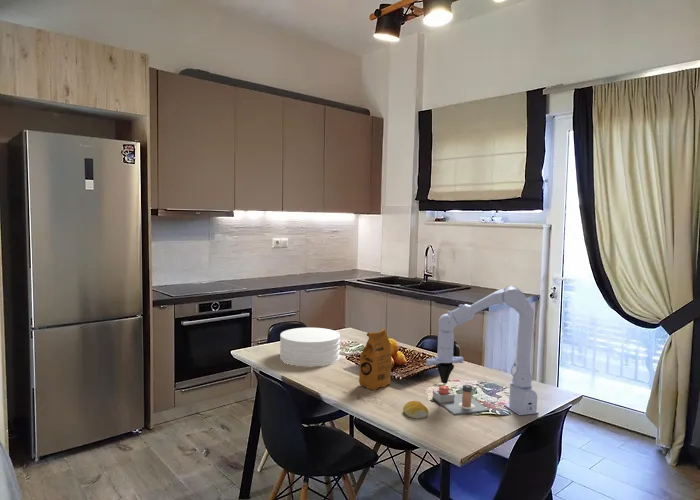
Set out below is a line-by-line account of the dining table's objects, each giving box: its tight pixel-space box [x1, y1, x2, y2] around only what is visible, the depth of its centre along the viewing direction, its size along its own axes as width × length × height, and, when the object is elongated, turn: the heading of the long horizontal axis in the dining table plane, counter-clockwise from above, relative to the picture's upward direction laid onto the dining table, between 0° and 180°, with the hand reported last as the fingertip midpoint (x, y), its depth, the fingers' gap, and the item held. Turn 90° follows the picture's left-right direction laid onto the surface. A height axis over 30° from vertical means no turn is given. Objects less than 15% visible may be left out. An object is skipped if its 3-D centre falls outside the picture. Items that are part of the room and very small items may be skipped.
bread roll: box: [402, 400, 429, 419], centre depth 170 cm, size 8×9×4 cm
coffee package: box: [358, 328, 392, 391], centre depth 197 cm, size 10×12×22 cm
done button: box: [438, 385, 450, 395], centre depth 182 cm, size 4×4×3 cm
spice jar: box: [461, 384, 473, 407], centre depth 176 cm, size 3×3×7 cm
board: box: [431, 389, 490, 416], centre depth 179 cm, size 16×14×3 cm
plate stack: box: [279, 327, 341, 367], centre depth 232 cm, size 28×28×12 cm
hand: (444, 382), depth 182 cm, fingers closed
